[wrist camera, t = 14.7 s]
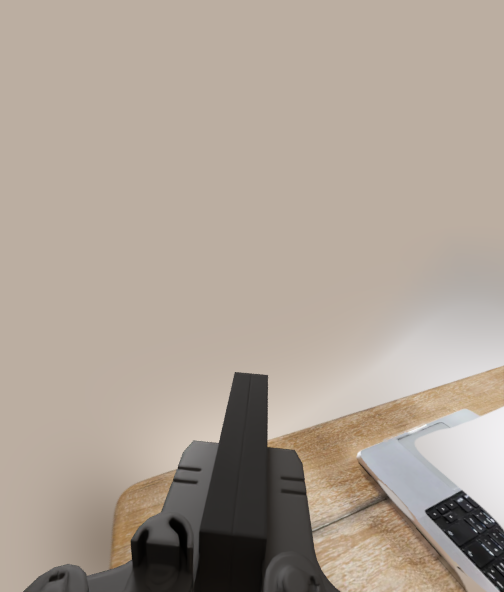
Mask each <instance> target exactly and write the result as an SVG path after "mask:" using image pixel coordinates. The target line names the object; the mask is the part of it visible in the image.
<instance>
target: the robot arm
mask: <svg viewBox="0 0 504 592" xmlns="http://www.w3.org/2000/svg"><path fill="white" fill-rule="evenodd" d="M267 407H268V375H260V374H249V373H239V372H235V374H234V378H233V383H232V388H231V392H230V396H229V401H228V405H227V409H226V414H225V418H224V423H223V427H222V432H221V436H220V441H219V443H212V442H203V441H193V442H192V443H191V444H190V445H189V447H187V449H186V450H185V451H184V452H183V454H182V457H181V460H180V462H179V465H178V469H177V470H176V473H175V476H174V479H173V482H172V484H171V487H170V489H169V492H168V495H167V497H166V500H165V503H164V506H163V508H162V511H161V513H159V514H157V515H155V516H152V517H150V518H149V519H148V520H146V521H145V522H144V523H143V524H142V525H141V526H140V527H139V528H138V529H137V531H136V533H135V534H134V536H133V538H132V539H131V552H132V560H130V561H129V562H127V563H126V564H124V565H122V566H119V567H117V568H114V569H110V570H107V571H103V572H100V573H96V574H92V575H89V576H86V573H85V572H84V571H83V570H82V569H81V568H80V567H79V566H75V565H70V564H66V565H63V566H58V567H55V568H53V569H51V570H50V571H48V572H46V573H44V574H43V575H41V576H39V577H38V578H37V579H36V580H35V581H34V582H33V583H32V584H31V585H30V586H29V587H28V588H26V589H25V590H24V591H23V592H340V591H339V590H338V589H336V588H335V587H334V586H333V585H332V584H331V583H330V581H329V580H328V579H327V578H326V576H325V575H324V573H323V572H322V570H321V568H320V566H319V563H318V561H317V558H316V554H315V550H314V543H313V536H312V529H311V521H310V514H309V507H308V500H307V496H306V486H305V478H304V471H303V464H302V462H301V460H300V459H299V457H298V455H297V453H296V452H295V450H290V449H280V448H270V447H267V423H268V417H267V416H268V408H267Z"/></svg>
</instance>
